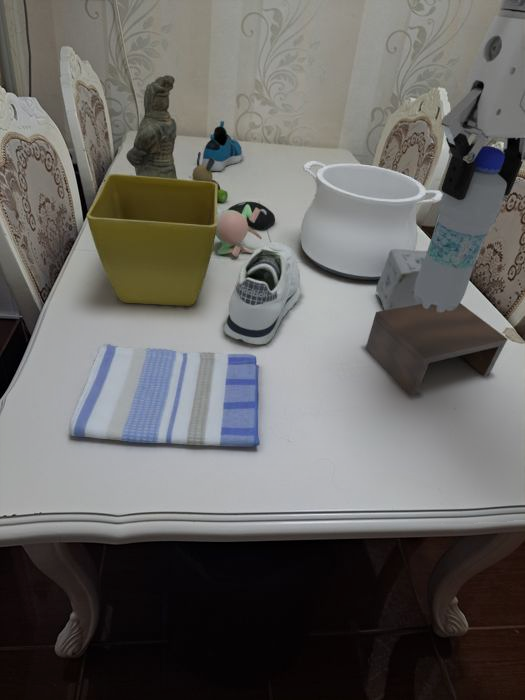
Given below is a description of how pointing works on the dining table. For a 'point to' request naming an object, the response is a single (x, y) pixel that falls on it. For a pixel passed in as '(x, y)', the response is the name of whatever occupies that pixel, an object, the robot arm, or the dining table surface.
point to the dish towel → (169, 398)
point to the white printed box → (400, 278)
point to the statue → (155, 133)
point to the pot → (360, 218)
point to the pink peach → (235, 229)
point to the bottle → (461, 234)
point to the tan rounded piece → (208, 177)
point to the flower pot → (155, 236)
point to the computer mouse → (264, 217)
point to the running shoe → (263, 294)
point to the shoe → (222, 149)
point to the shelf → (431, 341)
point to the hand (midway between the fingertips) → (475, 192)
